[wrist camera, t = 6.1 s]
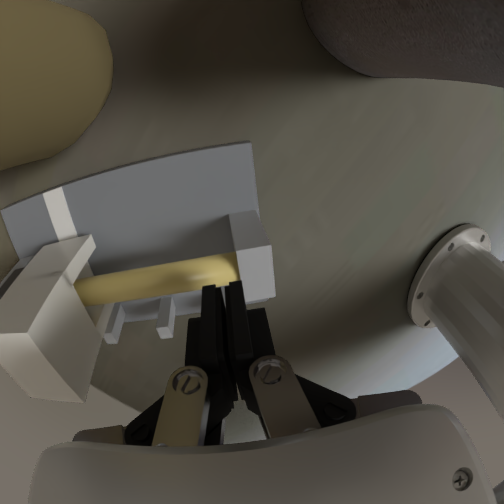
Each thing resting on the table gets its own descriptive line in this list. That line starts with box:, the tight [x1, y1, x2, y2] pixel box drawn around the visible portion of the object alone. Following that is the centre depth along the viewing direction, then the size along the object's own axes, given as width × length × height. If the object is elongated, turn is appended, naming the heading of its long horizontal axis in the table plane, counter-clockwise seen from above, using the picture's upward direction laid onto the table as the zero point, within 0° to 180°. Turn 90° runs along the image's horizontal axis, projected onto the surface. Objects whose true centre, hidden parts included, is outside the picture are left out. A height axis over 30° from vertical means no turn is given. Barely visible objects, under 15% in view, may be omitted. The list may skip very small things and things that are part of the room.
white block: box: [0, 234, 115, 403], centre depth 12 cm, size 4×5×8 cm
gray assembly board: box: [0, 141, 276, 344], centre depth 15 cm, size 18×11×6 cm, turn 96°
